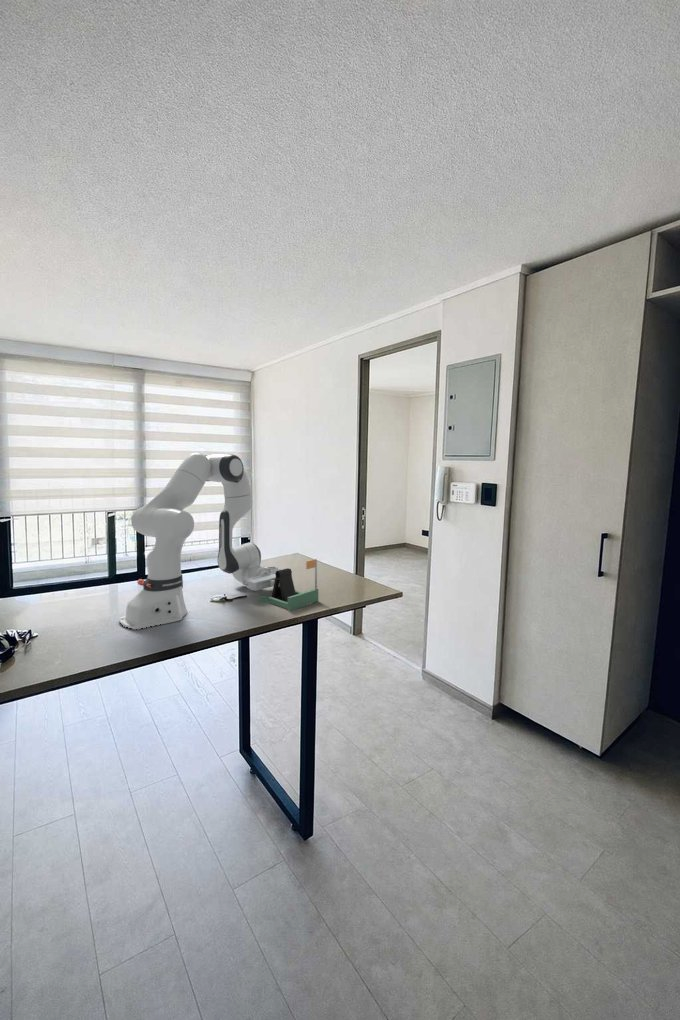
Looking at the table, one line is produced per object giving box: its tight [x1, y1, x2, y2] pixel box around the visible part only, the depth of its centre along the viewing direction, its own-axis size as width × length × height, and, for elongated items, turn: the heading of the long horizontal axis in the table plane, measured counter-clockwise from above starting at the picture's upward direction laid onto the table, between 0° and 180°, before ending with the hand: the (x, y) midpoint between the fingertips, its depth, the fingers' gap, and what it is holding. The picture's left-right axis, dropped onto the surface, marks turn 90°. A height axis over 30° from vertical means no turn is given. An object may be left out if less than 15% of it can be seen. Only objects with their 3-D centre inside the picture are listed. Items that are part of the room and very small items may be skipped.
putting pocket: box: [258, 558, 319, 612], centre depth 175 cm, size 17×18×17 cm
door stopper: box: [270, 568, 296, 602], centre depth 178 cm, size 9×6×12 cm, turn 48°
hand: (282, 583), depth 179 cm, fingers closed, pressing on door stopper
